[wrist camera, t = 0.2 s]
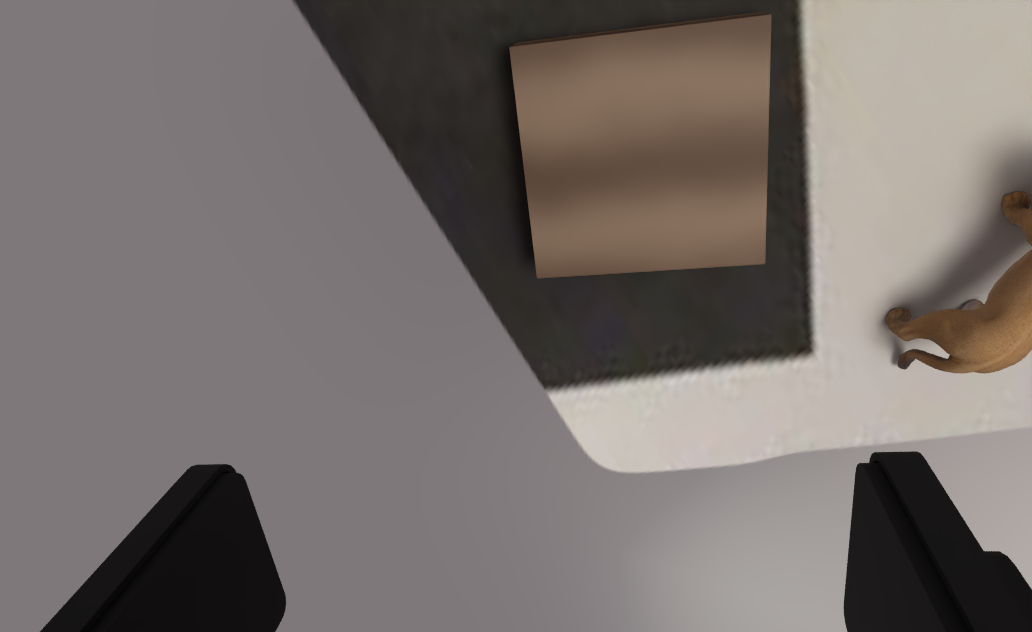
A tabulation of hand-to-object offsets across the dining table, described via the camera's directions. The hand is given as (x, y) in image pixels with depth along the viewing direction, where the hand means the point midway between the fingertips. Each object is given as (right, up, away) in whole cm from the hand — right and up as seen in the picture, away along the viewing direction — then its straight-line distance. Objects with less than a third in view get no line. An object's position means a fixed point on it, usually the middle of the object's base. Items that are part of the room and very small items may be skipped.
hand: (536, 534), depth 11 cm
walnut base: (+6, +12, +27) cm, 30 cm away
